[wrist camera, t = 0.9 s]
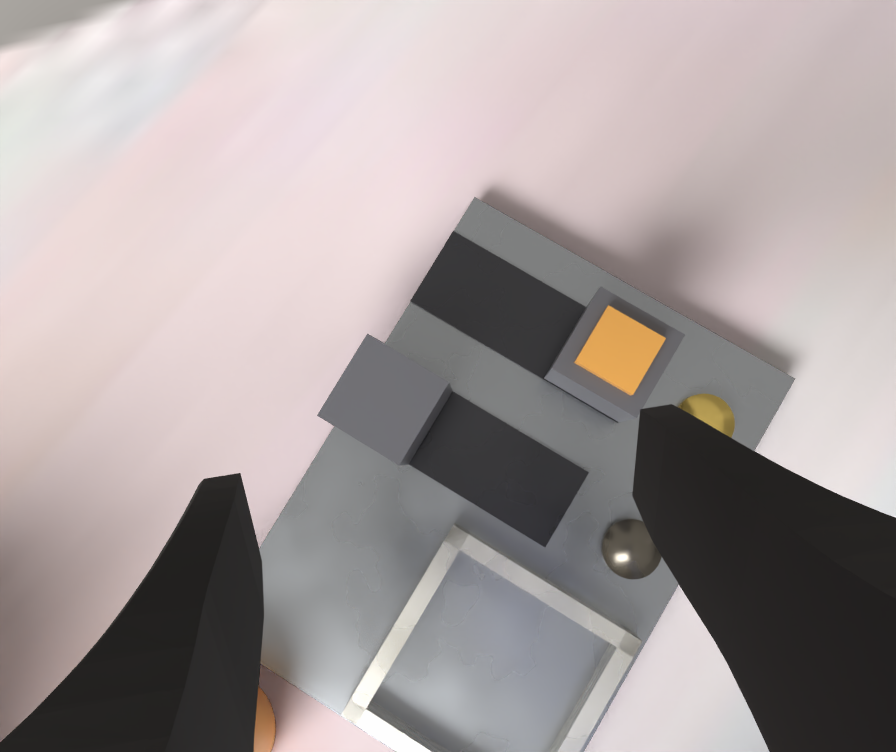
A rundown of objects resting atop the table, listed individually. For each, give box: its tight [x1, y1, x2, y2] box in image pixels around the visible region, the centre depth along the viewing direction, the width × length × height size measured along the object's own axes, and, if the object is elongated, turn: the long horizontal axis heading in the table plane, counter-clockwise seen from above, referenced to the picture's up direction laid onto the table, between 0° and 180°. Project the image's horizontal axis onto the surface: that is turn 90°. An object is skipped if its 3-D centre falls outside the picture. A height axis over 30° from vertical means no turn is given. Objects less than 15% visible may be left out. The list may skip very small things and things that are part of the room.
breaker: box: [317, 334, 453, 465], centre depth 25 cm, size 3×3×3 cm
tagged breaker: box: [544, 286, 685, 423], centre depth 25 cm, size 3×3×3 cm
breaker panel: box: [259, 197, 795, 752], centre depth 27 cm, size 13×18×2 cm
